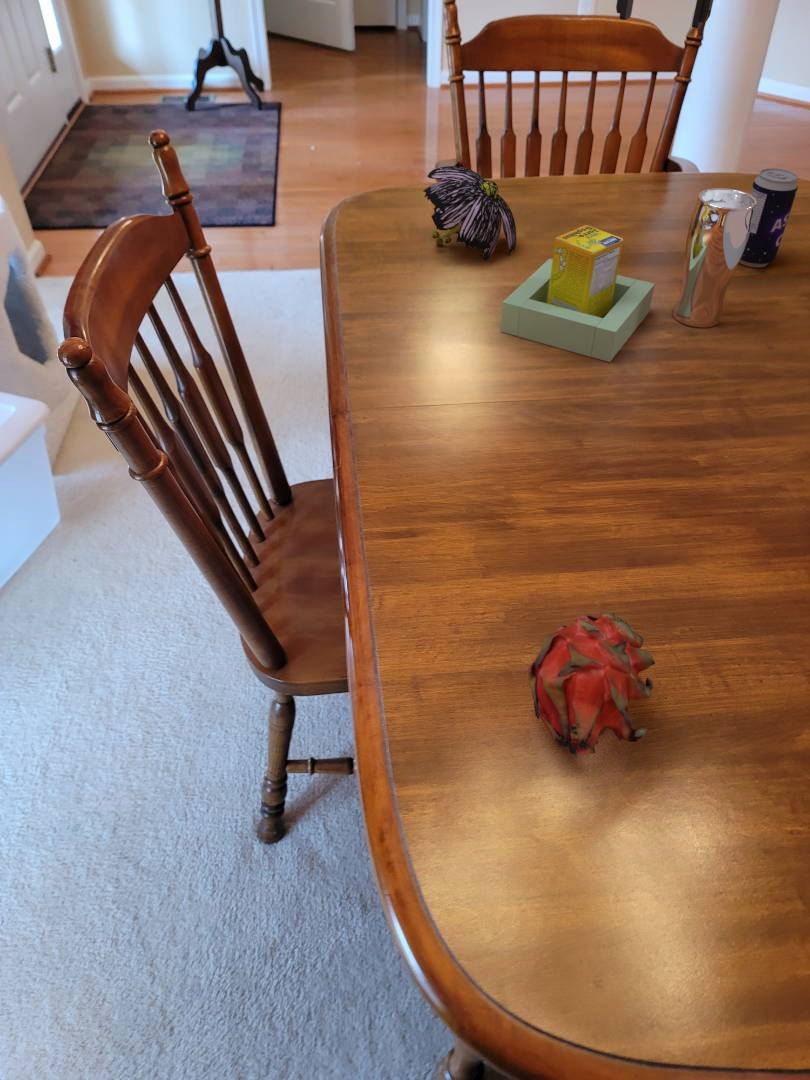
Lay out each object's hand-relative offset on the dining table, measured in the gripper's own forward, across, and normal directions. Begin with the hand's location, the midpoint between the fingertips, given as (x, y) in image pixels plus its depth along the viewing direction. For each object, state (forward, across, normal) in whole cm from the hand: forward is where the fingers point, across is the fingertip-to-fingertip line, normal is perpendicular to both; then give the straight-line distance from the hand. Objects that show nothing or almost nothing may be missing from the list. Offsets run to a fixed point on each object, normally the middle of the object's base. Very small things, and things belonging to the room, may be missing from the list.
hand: (660, 22), depth 97 cm
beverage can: (+30, -16, -13) cm, 37 cm away
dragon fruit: (+30, -24, +73) cm, 83 cm away
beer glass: (+30, -14, +8) cm, 34 cm away
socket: (+30, -1, +17) cm, 34 cm away
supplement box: (+30, -1, +17) cm, 35 cm away
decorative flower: (+30, +21, +4) cm, 37 cm away
